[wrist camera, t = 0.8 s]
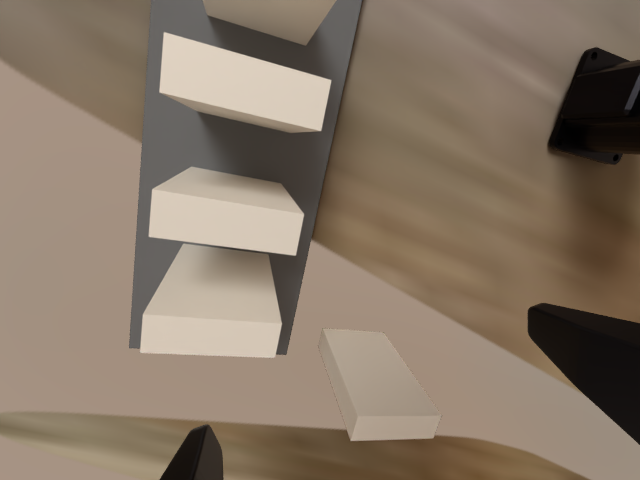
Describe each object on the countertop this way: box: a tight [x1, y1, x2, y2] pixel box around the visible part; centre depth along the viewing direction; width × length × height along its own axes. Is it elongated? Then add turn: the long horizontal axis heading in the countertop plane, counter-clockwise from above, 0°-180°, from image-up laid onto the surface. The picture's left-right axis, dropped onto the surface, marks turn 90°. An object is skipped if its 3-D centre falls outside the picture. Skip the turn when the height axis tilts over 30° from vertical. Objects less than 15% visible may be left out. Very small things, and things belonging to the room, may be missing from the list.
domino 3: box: [140, 244, 282, 358], centre depth 16 cm, size 2×5×8 cm, turn 77°
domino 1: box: [159, 32, 331, 133], centre depth 14 cm, size 2×5×8 cm, turn 78°
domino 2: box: [149, 167, 304, 256], centre depth 15 cm, size 2×5×8 cm, turn 77°
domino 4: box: [318, 328, 442, 441], centre depth 21 cm, size 2×5×8 cm, turn 77°
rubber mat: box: [129, 0, 362, 355], centre depth 18 cm, size 10×26×1 cm, turn 168°
